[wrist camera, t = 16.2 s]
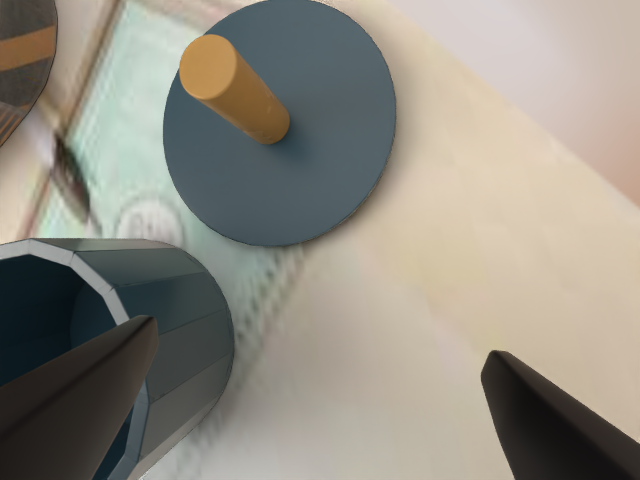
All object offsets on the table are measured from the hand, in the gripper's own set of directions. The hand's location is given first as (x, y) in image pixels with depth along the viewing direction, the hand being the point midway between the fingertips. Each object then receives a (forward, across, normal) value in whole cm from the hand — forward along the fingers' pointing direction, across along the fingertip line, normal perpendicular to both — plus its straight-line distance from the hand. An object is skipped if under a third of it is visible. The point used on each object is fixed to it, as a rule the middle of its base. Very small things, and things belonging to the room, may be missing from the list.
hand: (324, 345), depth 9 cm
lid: (+12, +3, -4) cm, 13 cm away
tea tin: (+10, +10, +9) cm, 17 cm away
